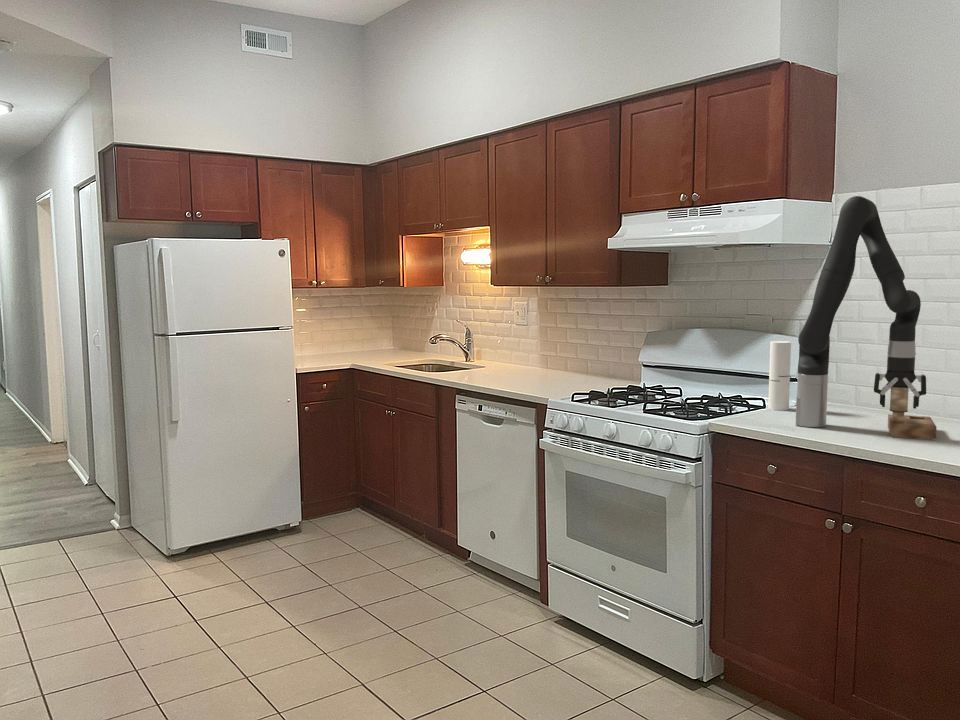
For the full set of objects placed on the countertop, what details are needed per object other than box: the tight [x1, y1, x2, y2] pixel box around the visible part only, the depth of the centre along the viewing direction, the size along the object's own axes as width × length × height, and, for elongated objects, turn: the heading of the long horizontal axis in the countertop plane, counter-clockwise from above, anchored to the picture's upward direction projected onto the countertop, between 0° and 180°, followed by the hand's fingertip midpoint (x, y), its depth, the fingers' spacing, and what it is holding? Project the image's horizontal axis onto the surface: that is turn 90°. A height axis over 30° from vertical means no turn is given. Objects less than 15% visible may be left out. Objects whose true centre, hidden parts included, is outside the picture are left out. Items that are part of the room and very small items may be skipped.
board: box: [887, 413, 937, 440], centre depth 247 cm, size 12×18×4 cm, turn 156°
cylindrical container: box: [767, 340, 792, 411], centre depth 291 cm, size 7×7×25 cm
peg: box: [889, 387, 910, 423], centre depth 243 cm, size 5×5×11 cm
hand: (898, 407), depth 243 cm, fingers open, 8 cm apart
